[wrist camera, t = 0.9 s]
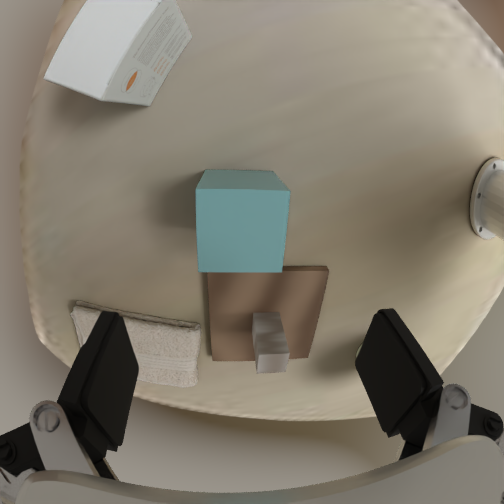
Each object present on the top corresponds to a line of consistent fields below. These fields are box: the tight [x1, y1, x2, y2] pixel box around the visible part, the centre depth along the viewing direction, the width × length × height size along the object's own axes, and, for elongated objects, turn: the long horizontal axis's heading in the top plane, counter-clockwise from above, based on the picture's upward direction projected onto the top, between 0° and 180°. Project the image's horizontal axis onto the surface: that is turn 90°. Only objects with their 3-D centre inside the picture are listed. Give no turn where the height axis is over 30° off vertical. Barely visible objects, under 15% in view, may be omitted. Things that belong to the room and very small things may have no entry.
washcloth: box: [70, 300, 201, 387], centre depth 32 cm, size 12×18×3 cm, turn 79°
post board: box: [207, 266, 329, 373], centre depth 29 cm, size 13×14×8 cm
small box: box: [44, 0, 192, 106], centre depth 14 cm, size 8×6×10 cm
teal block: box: [196, 170, 290, 272], centre depth 22 cm, size 6×6×8 cm
